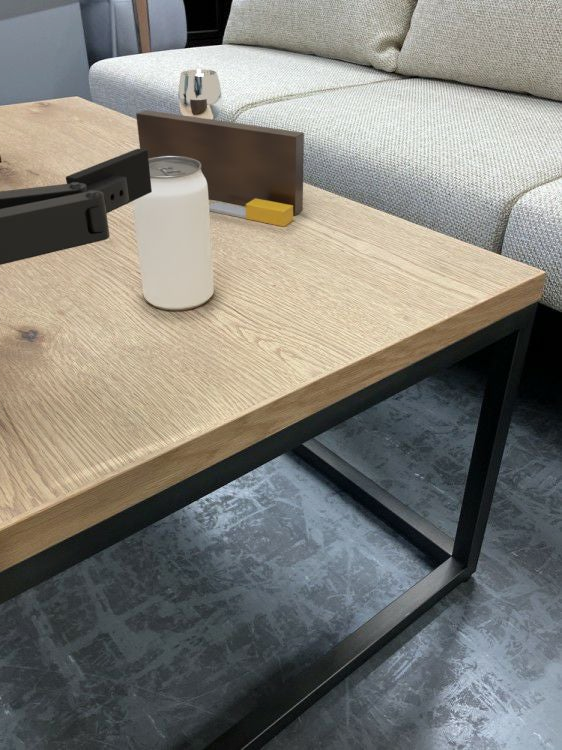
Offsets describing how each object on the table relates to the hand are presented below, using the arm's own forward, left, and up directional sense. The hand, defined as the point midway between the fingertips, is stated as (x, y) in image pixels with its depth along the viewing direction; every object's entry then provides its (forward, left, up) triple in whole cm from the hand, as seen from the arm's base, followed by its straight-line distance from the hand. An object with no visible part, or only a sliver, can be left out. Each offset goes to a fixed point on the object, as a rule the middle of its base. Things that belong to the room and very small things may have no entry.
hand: (65, 155), depth 48 cm
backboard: (-11, +35, -16) cm, 40 cm away
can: (0, +11, -16) cm, 19 cm away
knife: (-5, +32, -16) cm, 36 cm away
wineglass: (-20, +45, -16) cm, 52 cm away
